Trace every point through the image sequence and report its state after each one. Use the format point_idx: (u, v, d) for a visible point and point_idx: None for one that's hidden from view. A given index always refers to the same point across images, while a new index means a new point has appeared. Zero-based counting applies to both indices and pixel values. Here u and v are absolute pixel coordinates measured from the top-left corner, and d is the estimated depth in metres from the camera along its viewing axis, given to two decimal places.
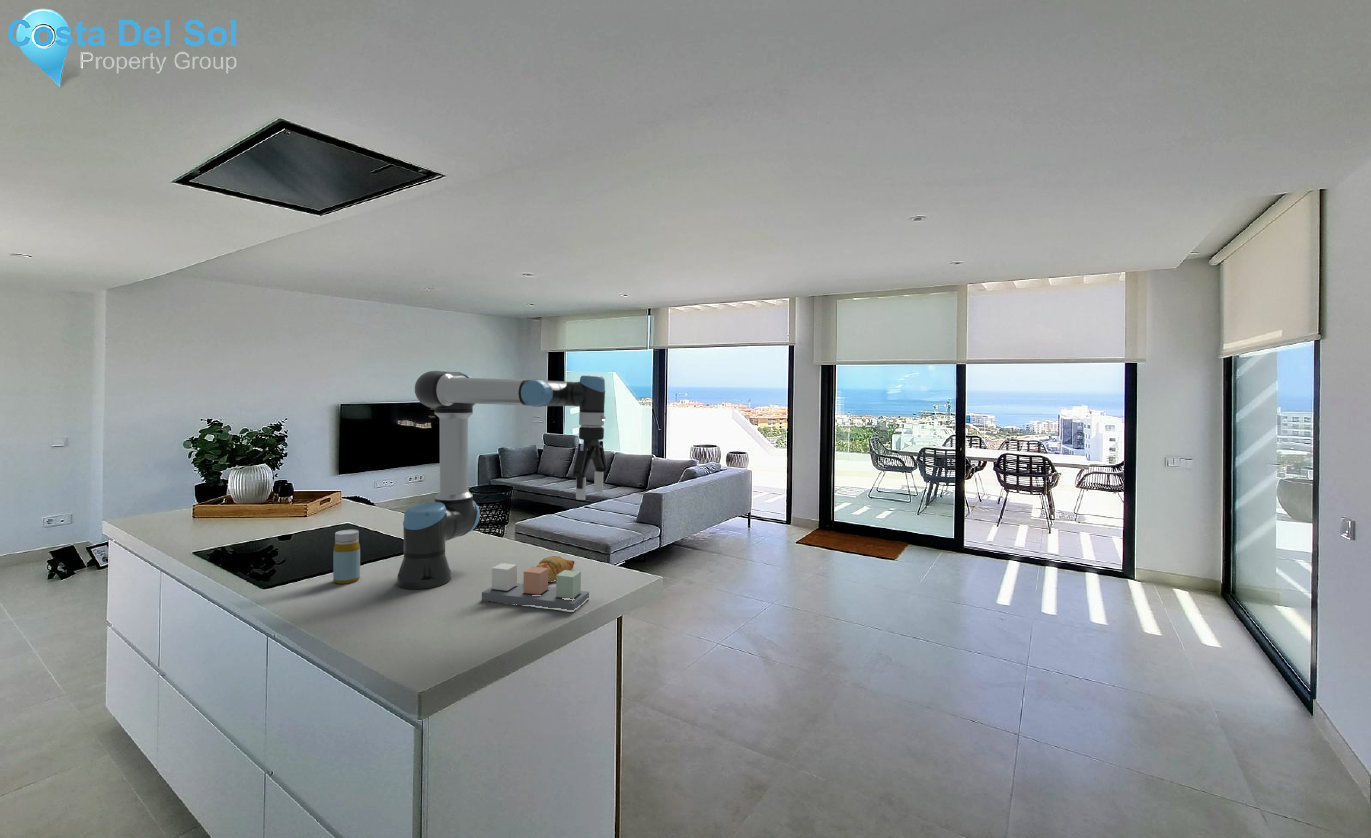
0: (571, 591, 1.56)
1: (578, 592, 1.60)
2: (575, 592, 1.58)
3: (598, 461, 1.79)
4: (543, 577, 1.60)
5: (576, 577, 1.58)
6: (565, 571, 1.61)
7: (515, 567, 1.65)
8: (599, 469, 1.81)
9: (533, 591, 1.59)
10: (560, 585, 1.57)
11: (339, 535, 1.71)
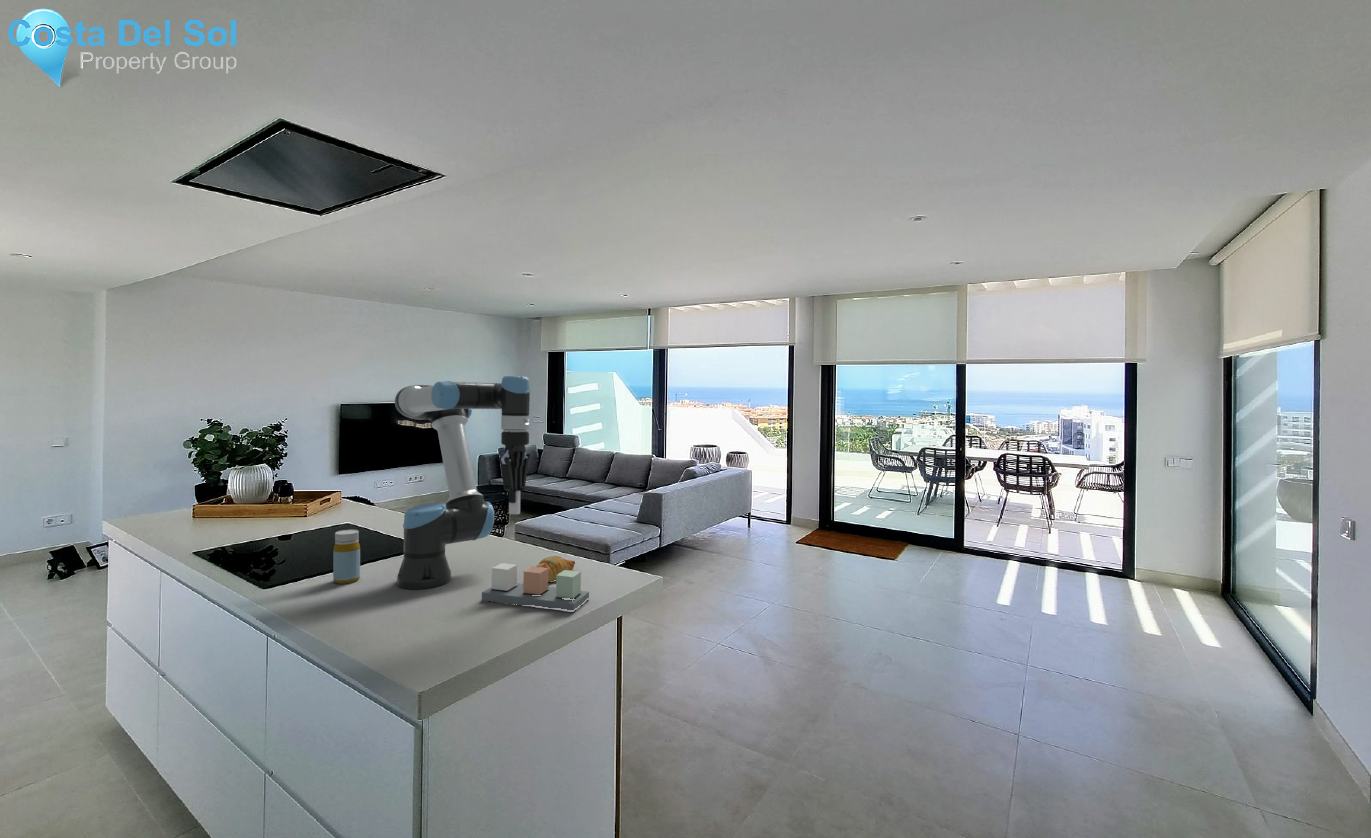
0: (571, 591, 1.56)
1: (578, 592, 1.60)
2: (575, 592, 1.58)
3: (518, 473, 1.62)
4: (543, 577, 1.60)
5: (576, 577, 1.58)
6: (565, 571, 1.61)
7: (515, 567, 1.65)
8: None
9: (533, 591, 1.59)
10: (560, 585, 1.57)
11: (339, 535, 1.71)
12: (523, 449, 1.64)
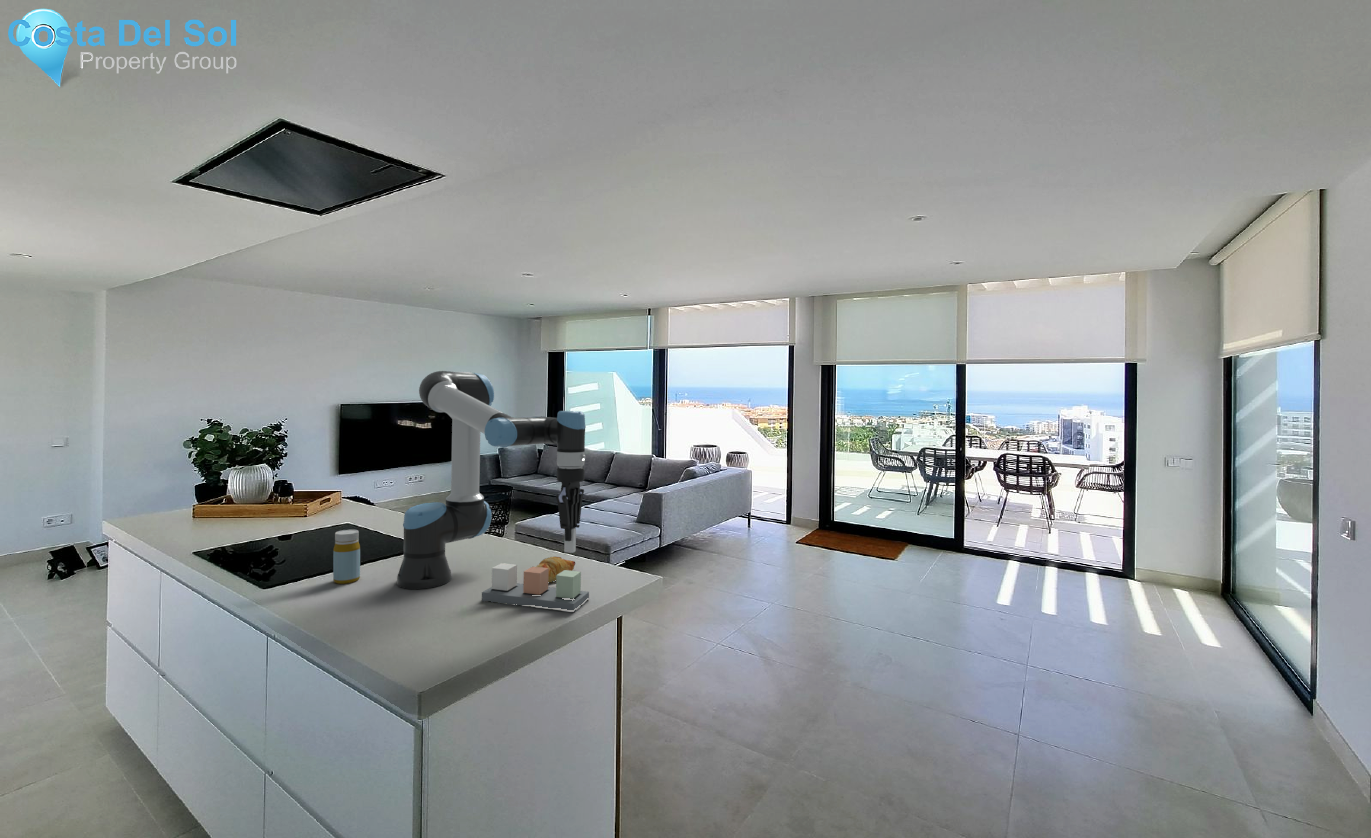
0: (571, 591, 1.56)
1: (578, 592, 1.60)
2: (575, 592, 1.58)
3: (573, 510, 1.59)
4: (543, 577, 1.60)
5: (576, 577, 1.58)
6: (565, 571, 1.61)
7: (515, 567, 1.65)
8: None
9: (533, 591, 1.59)
10: (560, 585, 1.57)
11: (339, 535, 1.71)
12: (578, 485, 1.60)
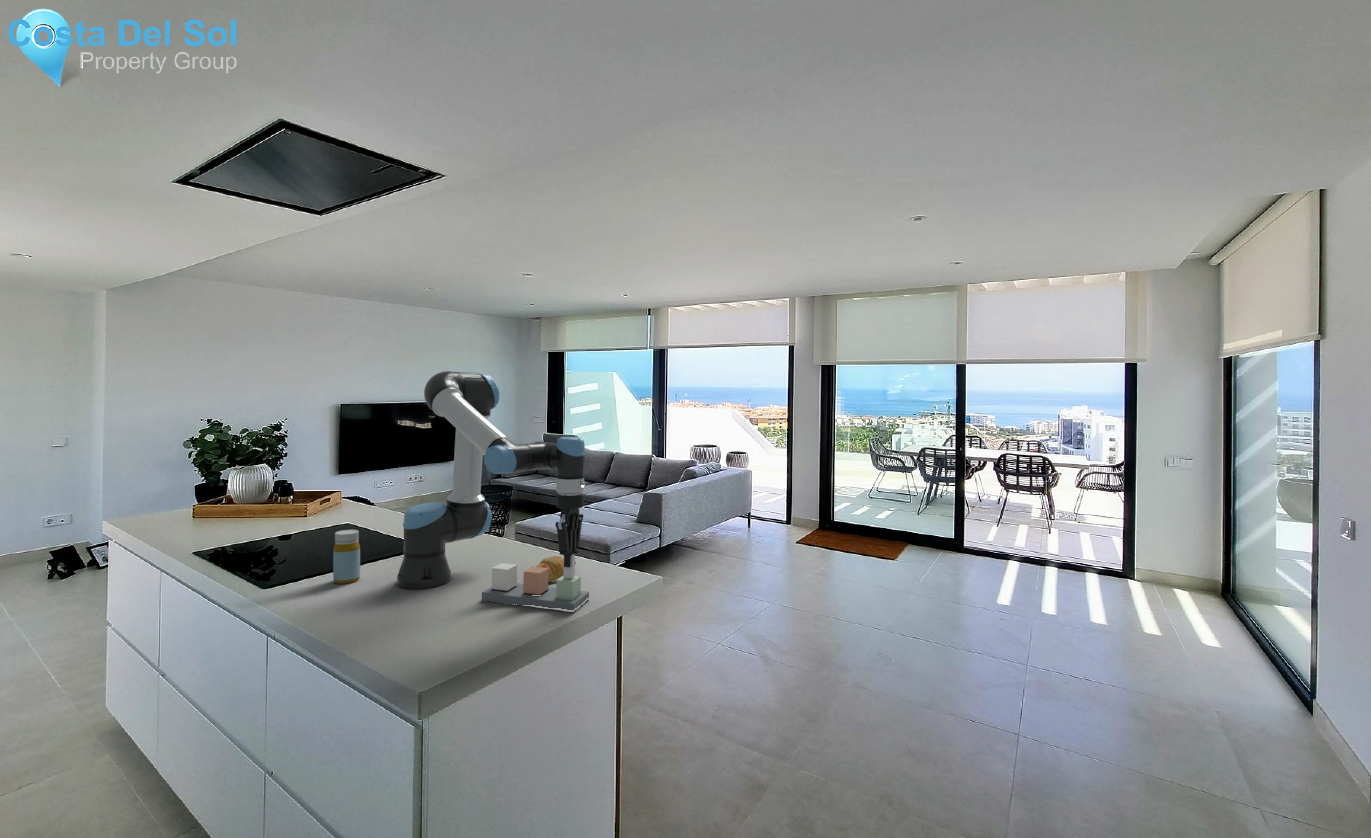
0: (571, 596, 1.56)
1: None
2: (575, 597, 1.58)
3: (572, 536, 1.59)
4: (543, 577, 1.60)
5: (576, 581, 1.58)
6: None
7: (515, 567, 1.65)
8: None
9: (533, 591, 1.59)
10: (560, 590, 1.57)
11: (339, 535, 1.71)
12: (577, 511, 1.60)
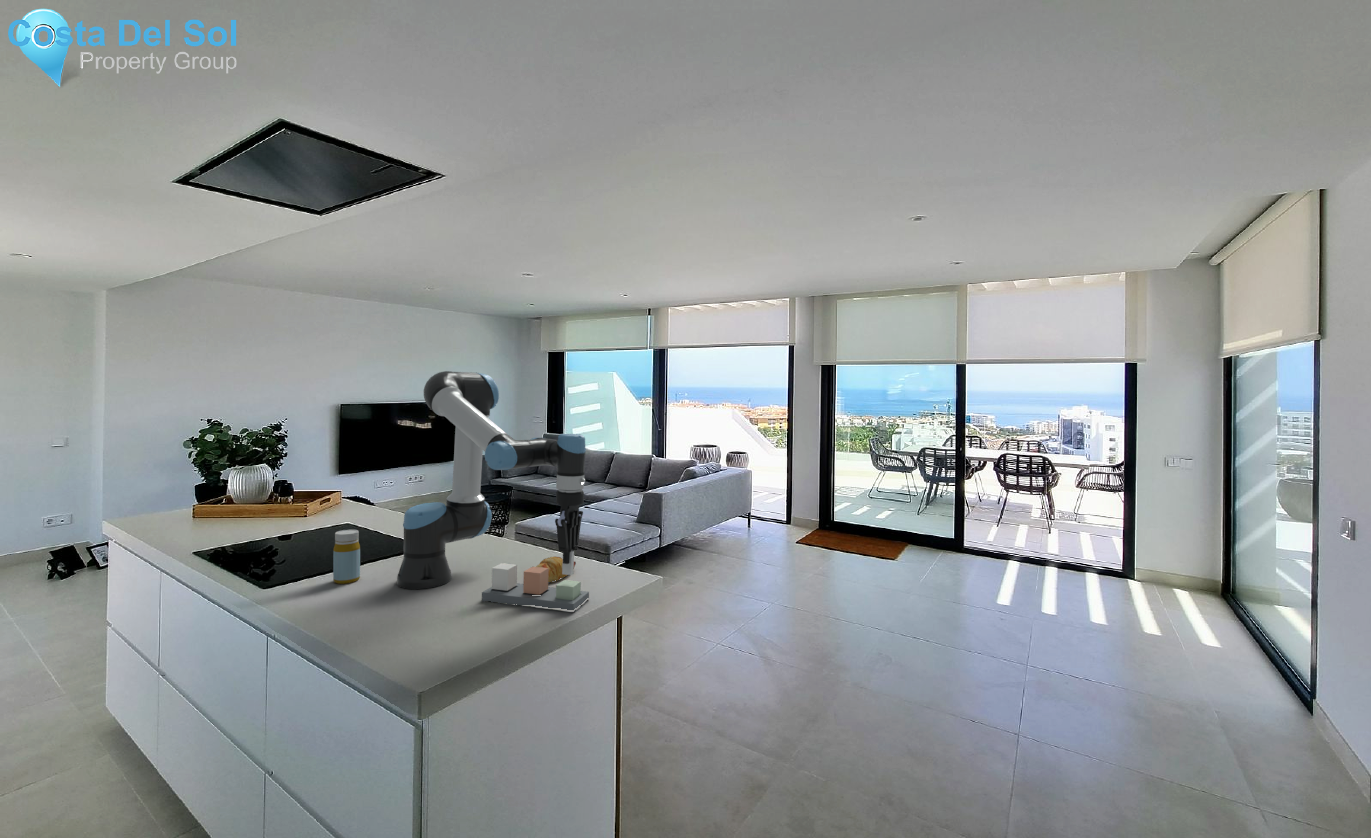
0: None
1: None
2: None
3: (572, 532, 1.59)
4: (543, 577, 1.60)
5: (576, 587, 1.58)
6: (565, 581, 1.61)
7: (515, 567, 1.65)
8: None
9: (533, 591, 1.59)
10: (560, 595, 1.57)
11: (339, 535, 1.71)
12: (577, 508, 1.61)
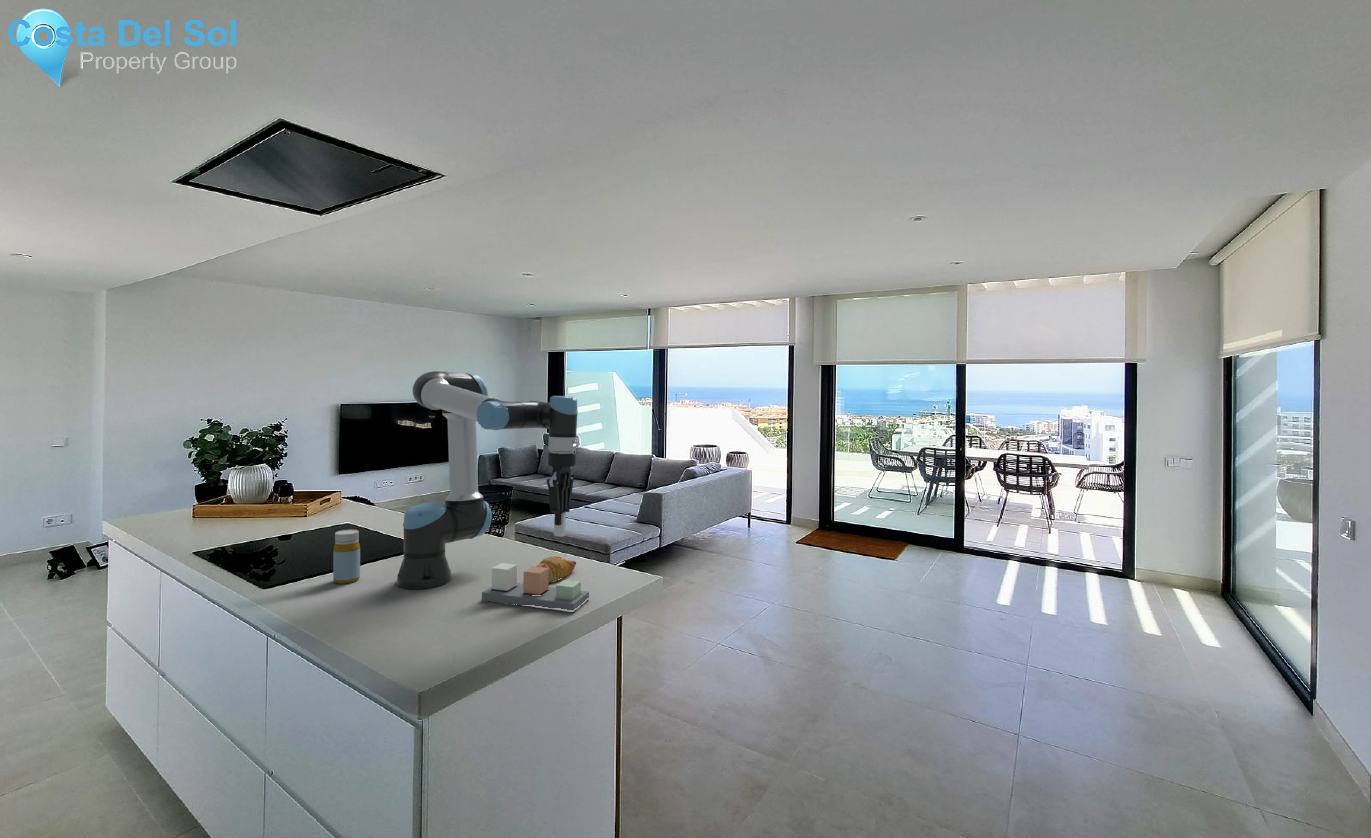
0: None
1: None
2: None
3: (564, 494, 1.60)
4: (543, 577, 1.60)
5: (576, 587, 1.58)
6: (565, 581, 1.61)
7: (515, 567, 1.65)
8: None
9: (533, 591, 1.59)
10: (560, 595, 1.57)
11: (339, 535, 1.71)
12: (569, 470, 1.61)
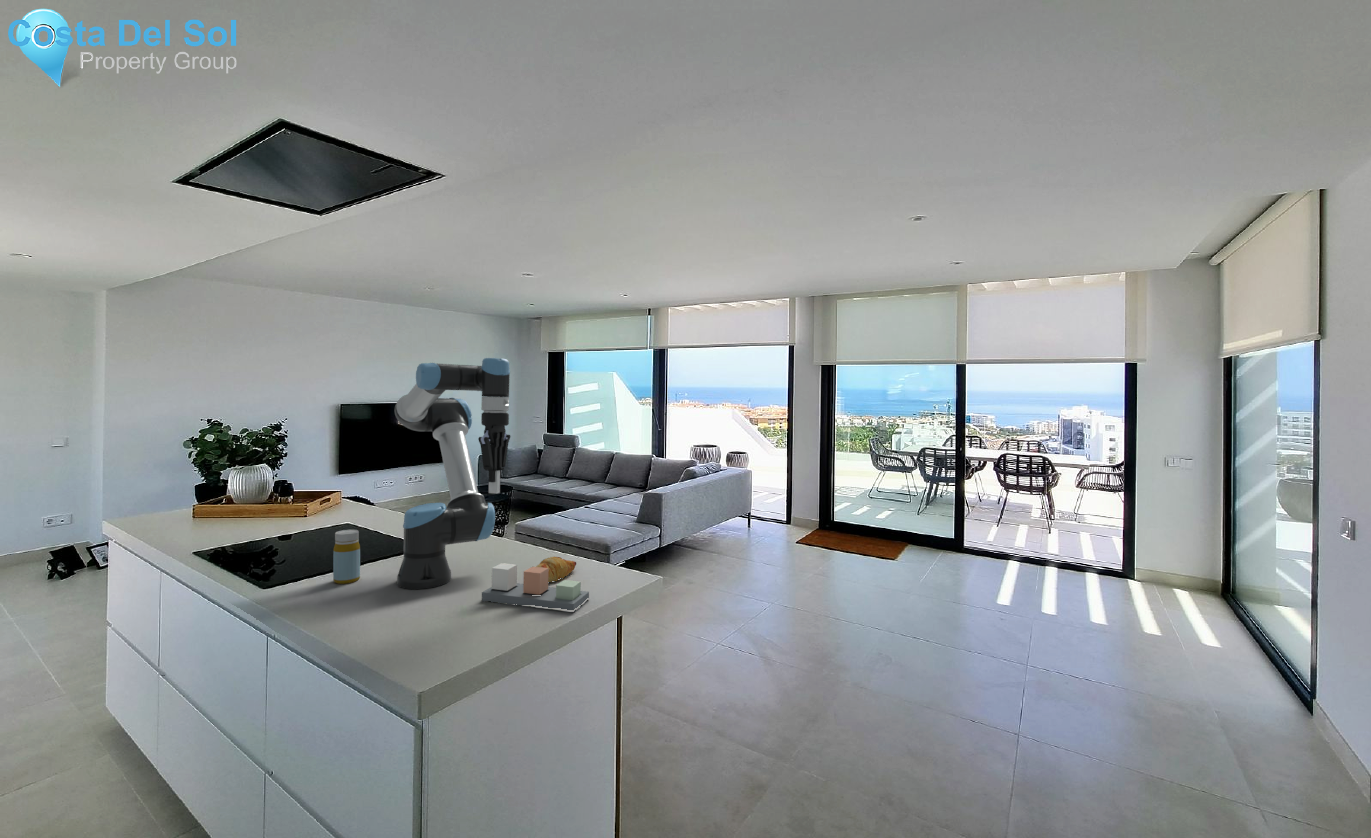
0: None
1: None
2: None
3: (498, 453, 1.66)
4: (543, 577, 1.60)
5: (576, 587, 1.58)
6: (565, 581, 1.61)
7: (515, 567, 1.65)
8: None
9: (533, 591, 1.59)
10: (560, 595, 1.57)
11: (339, 535, 1.71)
12: (503, 430, 1.68)
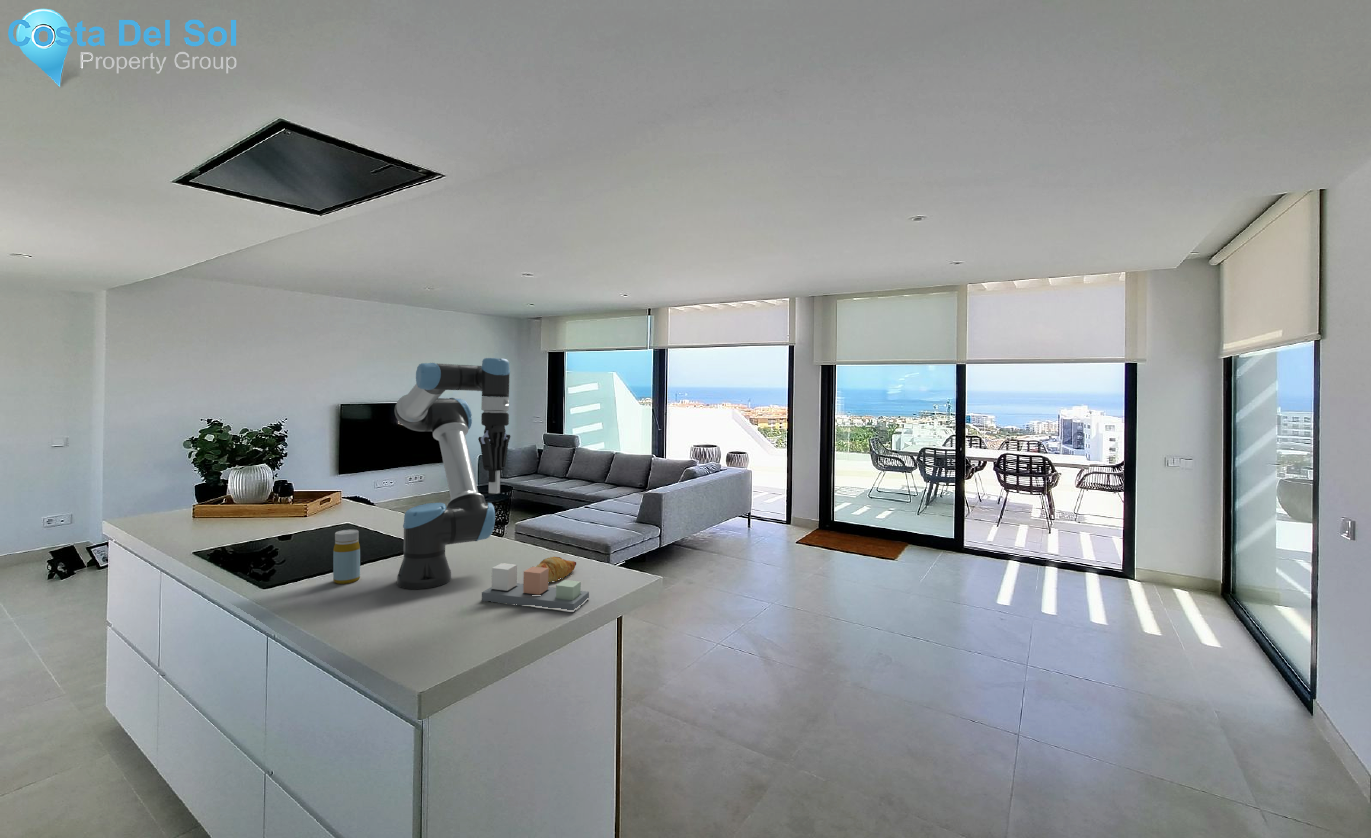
0: None
1: None
2: None
3: (498, 453, 1.66)
4: (543, 577, 1.60)
5: (576, 587, 1.58)
6: (565, 581, 1.61)
7: (515, 567, 1.65)
8: None
9: (533, 591, 1.59)
10: (560, 595, 1.57)
11: (339, 535, 1.71)
12: (503, 430, 1.68)
